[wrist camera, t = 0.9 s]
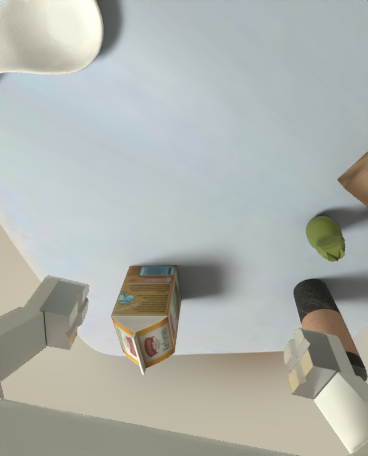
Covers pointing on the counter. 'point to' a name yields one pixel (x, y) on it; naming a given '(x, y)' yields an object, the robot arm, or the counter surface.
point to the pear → (326, 237)
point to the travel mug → (325, 318)
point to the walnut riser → (357, 179)
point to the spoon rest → (49, 35)
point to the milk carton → (148, 314)
